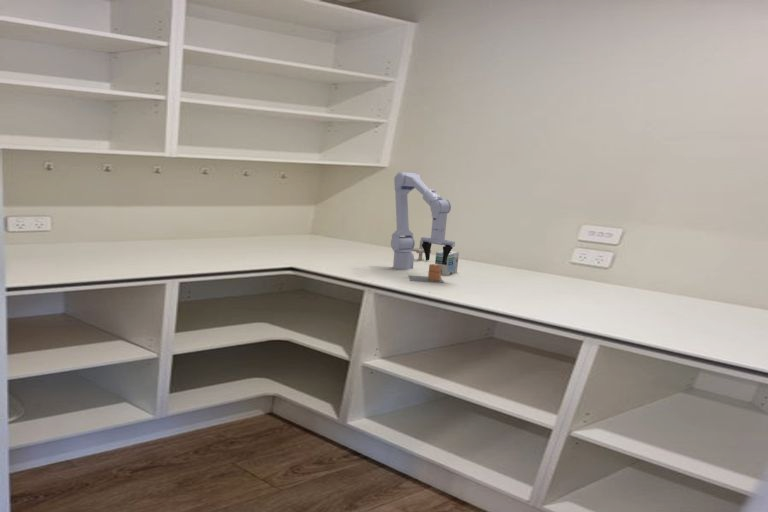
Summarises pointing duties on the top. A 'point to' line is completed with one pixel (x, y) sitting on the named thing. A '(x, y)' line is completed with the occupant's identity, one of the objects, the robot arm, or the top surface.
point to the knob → (434, 272)
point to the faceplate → (423, 279)
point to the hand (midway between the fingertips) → (435, 261)
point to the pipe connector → (419, 250)
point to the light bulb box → (447, 262)
